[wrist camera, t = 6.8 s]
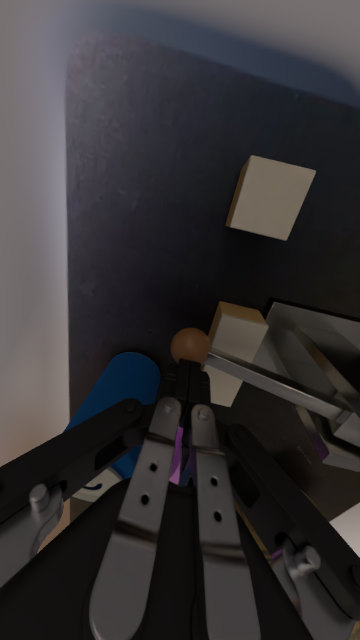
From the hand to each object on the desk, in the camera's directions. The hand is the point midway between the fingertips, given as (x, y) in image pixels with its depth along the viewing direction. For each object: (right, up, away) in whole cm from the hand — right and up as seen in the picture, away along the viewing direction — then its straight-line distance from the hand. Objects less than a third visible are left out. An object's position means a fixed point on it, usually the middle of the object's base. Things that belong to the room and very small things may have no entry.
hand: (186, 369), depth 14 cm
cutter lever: (+6, 0, +2) cm, 7 cm away
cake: (+4, +1, +8) cm, 9 cm away
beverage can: (-6, -3, +11) cm, 13 cm away
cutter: (+12, +1, +7) cm, 14 cm away
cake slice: (+6, +13, +2) cm, 14 cm away
